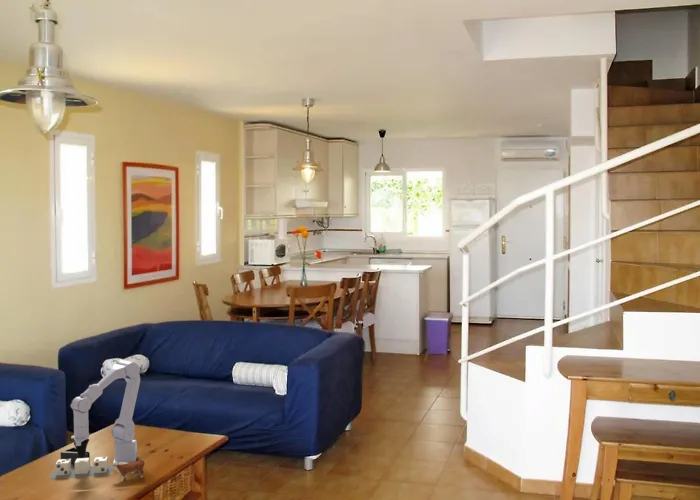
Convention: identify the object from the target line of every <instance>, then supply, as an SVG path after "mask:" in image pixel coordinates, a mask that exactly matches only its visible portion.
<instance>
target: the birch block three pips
mask: <svg viewBox="0 0 700 500" xmlns="http://www.w3.org/2000/svg"><path fill="white" fill-rule="evenodd" d="M71 468H72V465H71V459H61V458H60V459H57V461H56V463H55V469H56V475H69V473H70V472H71Z"/></svg>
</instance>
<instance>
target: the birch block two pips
mask: <svg viewBox="0 0 700 500" xmlns="http://www.w3.org/2000/svg"><path fill="white" fill-rule="evenodd" d="M108 460H109V458H108V456H96V457H95V458H94V460H93V466H94V473H103V472H107V469H108V465H109V461H108Z"/></svg>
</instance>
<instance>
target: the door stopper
mask: <svg viewBox="0 0 700 500" xmlns="http://www.w3.org/2000/svg"><path fill="white" fill-rule="evenodd" d="M90 454H91V453H90V451H87V450H86V454H85V457H84V458H89V463H90V464H91V455H90ZM77 458H79V456H78V452H77V449H76V447H75V446H73V447H70V448H68V449H66V450H63V451H60V459H71V466H75V461H76V459H77Z"/></svg>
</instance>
